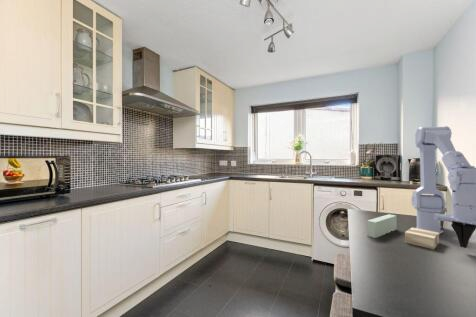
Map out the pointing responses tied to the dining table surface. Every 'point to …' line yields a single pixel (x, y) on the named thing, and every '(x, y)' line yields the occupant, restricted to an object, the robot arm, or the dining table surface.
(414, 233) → the maple block
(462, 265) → the dining table surface
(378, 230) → the sage board
